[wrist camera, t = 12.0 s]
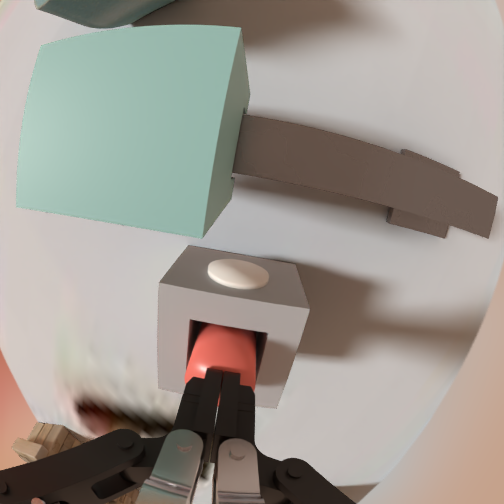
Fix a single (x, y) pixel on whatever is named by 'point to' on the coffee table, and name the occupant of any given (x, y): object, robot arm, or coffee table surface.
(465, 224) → the handrail
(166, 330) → the cabinet
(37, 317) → the coffee table surface
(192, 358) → the button
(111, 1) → the flower pot
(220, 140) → the carriage
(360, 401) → the coffee table surface
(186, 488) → the robot arm
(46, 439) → the block tower
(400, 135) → the coffee table surface
